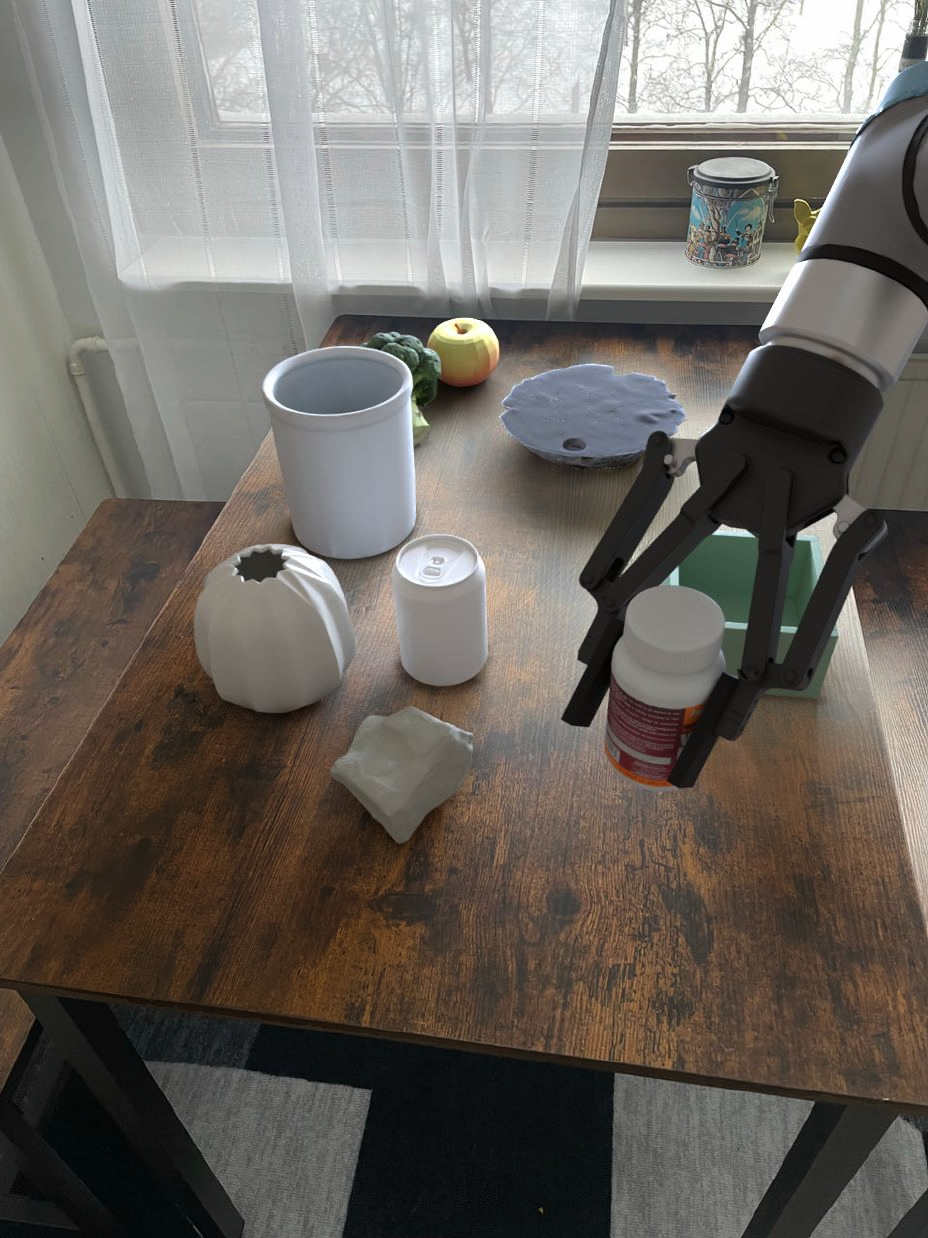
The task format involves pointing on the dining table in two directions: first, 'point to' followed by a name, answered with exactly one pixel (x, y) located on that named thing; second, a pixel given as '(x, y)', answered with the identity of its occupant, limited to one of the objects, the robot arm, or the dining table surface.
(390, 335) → the vegetable
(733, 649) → the bin
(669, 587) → the pill bottle
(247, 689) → the vase
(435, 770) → the decorative stone
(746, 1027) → the dining table surface
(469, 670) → the beverage can
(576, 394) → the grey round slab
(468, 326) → the apple
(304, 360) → the utensil holder
